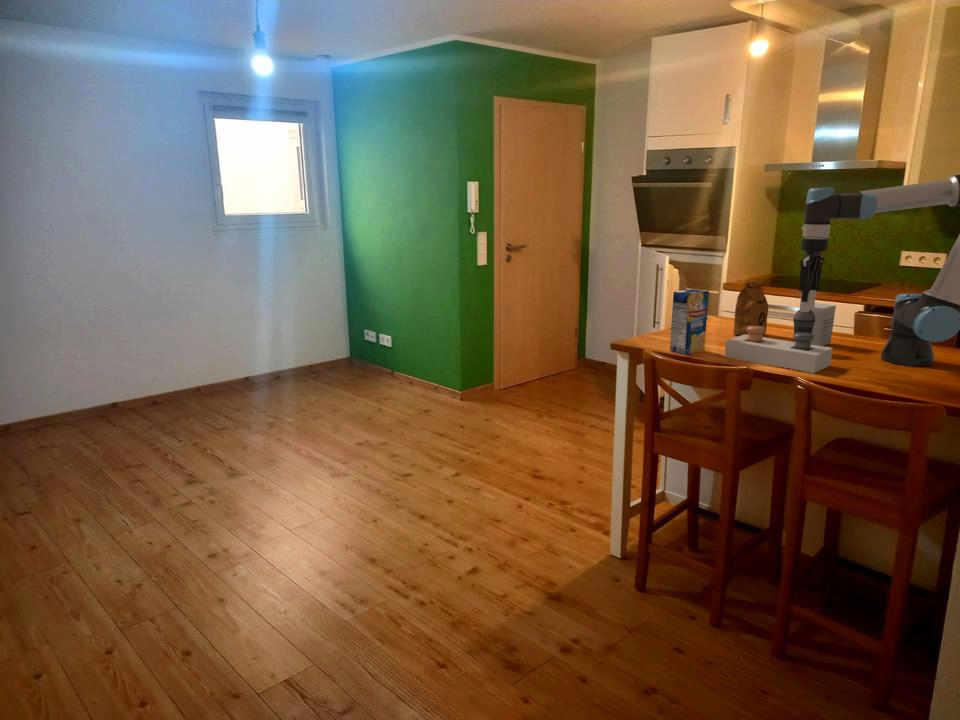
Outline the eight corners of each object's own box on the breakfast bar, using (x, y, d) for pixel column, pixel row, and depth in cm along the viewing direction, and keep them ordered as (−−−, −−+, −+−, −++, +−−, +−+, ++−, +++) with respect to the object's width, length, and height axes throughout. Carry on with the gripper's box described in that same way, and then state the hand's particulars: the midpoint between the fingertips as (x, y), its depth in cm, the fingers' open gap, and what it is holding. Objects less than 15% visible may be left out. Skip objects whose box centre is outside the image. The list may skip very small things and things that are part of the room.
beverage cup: (814, 353, 232) (821, 298, 227) (792, 352, 233) (798, 297, 228) (808, 348, 239) (815, 295, 234) (787, 348, 240) (793, 294, 235)
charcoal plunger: (814, 350, 215) (816, 334, 213) (807, 354, 211) (809, 337, 210) (796, 347, 219) (798, 331, 218) (788, 350, 215) (790, 334, 214)
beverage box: (669, 351, 237) (673, 291, 231) (689, 347, 243) (693, 288, 237) (684, 355, 231) (688, 294, 226) (704, 350, 237) (709, 291, 232)
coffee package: (770, 335, 261) (775, 281, 256) (750, 339, 255) (755, 283, 249) (748, 331, 269) (753, 278, 264) (729, 334, 263) (733, 280, 258)
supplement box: (796, 343, 247) (800, 304, 244) (807, 340, 253) (812, 302, 249) (820, 347, 240) (825, 307, 237) (831, 344, 246) (836, 305, 242)
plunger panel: (830, 365, 216) (832, 347, 214) (814, 373, 207) (816, 355, 205) (742, 350, 237) (744, 334, 236) (724, 357, 228) (726, 340, 226)
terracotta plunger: (766, 343, 226) (768, 327, 225) (759, 346, 222) (760, 330, 221) (749, 340, 230) (751, 325, 229) (742, 343, 226) (743, 327, 225)
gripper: (812, 236, 214) (804, 306, 220) (792, 238, 203) (784, 312, 209) (837, 237, 209) (828, 308, 214) (817, 239, 198) (808, 315, 204)
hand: (806, 310), depth 212 cm, fingers open, 3 cm apart
